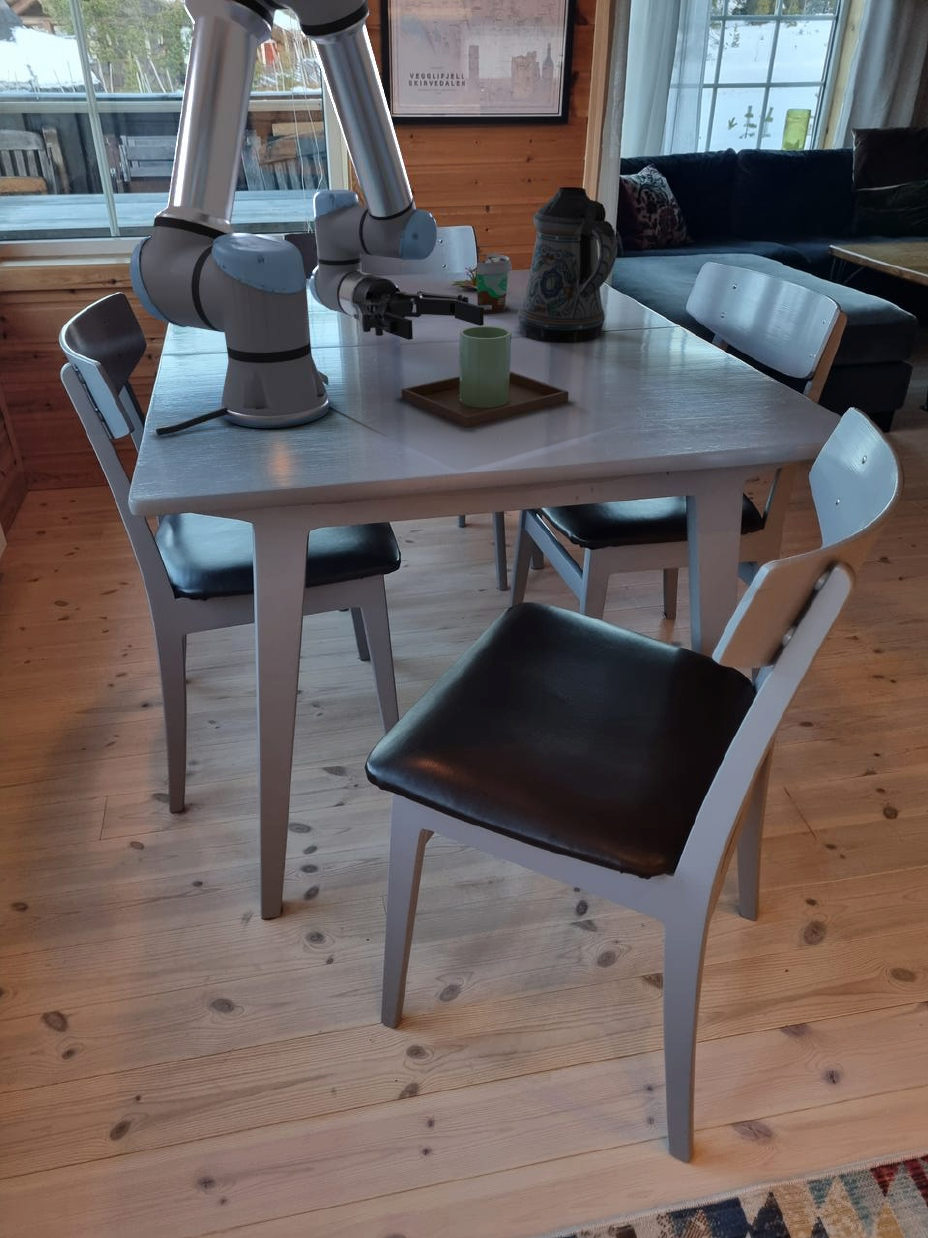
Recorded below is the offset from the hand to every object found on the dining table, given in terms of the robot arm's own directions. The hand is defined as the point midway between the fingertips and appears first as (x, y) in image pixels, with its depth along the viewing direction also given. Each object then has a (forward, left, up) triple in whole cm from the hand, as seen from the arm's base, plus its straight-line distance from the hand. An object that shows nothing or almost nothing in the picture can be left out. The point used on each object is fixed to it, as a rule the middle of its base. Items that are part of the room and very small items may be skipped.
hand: (447, 323), depth 133 cm
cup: (0, -9, -9) cm, 13 cm away
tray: (0, -9, -10) cm, 14 cm away
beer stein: (+39, +14, -10) cm, 42 cm away
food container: (+41, +38, -10) cm, 56 cm away
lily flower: (+51, +58, -10) cm, 78 cm away
